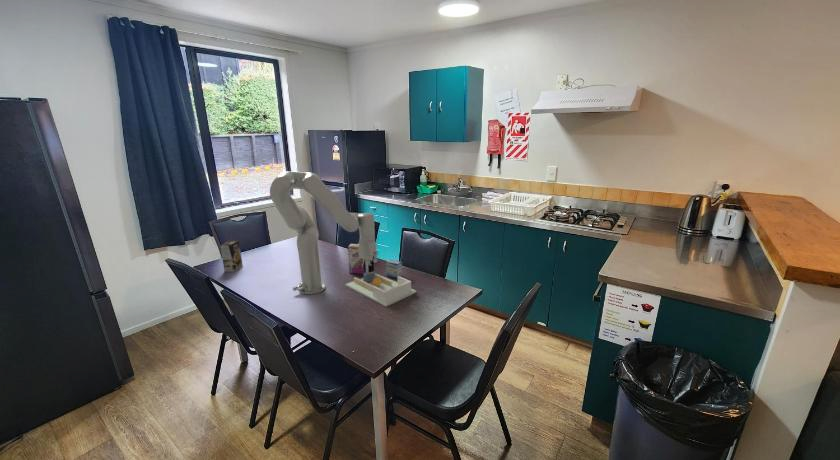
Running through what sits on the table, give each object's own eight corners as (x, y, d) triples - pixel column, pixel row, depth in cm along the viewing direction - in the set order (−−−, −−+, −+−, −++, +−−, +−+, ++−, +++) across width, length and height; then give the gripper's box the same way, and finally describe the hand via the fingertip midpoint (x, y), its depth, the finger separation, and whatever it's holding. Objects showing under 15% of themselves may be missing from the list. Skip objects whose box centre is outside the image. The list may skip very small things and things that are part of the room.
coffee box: (235, 271, 198) (230, 245, 193) (224, 271, 198) (219, 245, 193) (243, 265, 206) (239, 240, 202) (232, 265, 206) (228, 240, 202)
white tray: (385, 306, 158) (385, 295, 157) (345, 285, 180) (344, 275, 178) (416, 292, 172) (416, 281, 170) (375, 274, 193) (375, 264, 192)
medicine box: (386, 276, 191) (385, 261, 189) (390, 273, 195) (390, 259, 193) (398, 278, 188) (398, 264, 186) (402, 276, 192) (402, 261, 189)
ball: (376, 288, 174) (376, 280, 173) (370, 285, 177) (370, 277, 176) (383, 285, 177) (382, 277, 176) (377, 283, 180) (377, 275, 179)
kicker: (366, 284, 178) (365, 256, 174) (363, 282, 180) (361, 255, 176) (375, 280, 182) (374, 253, 178) (372, 278, 184) (370, 252, 180)
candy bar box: (349, 273, 195) (347, 246, 190) (351, 270, 200) (350, 243, 195) (368, 274, 194) (367, 246, 189) (370, 271, 198) (369, 244, 194)
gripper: (351, 235, 177) (353, 268, 182) (371, 242, 166) (373, 277, 171) (363, 232, 182) (364, 264, 188) (383, 239, 172) (384, 273, 177)
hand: (369, 270), depth 179 cm, fingers closed on kicker, 3 cm apart
